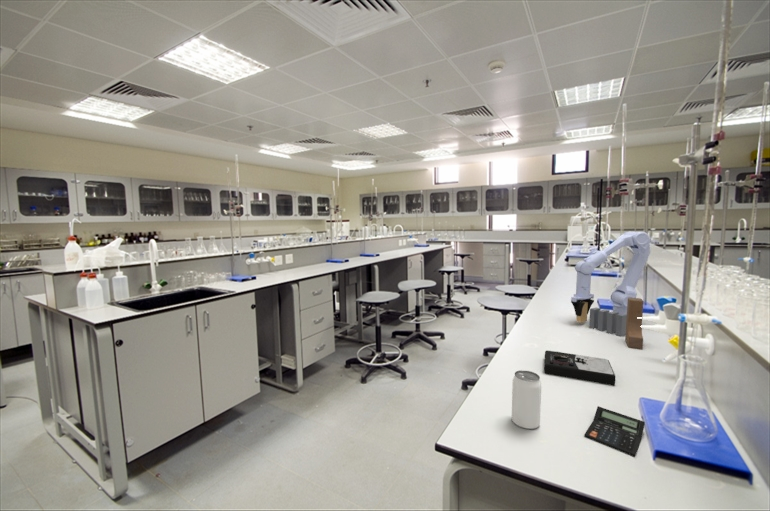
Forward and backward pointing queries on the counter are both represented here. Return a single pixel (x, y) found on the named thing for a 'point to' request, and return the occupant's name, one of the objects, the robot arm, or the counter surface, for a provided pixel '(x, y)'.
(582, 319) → the ochre domino
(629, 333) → the wooden block
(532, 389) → the can
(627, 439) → the calculator
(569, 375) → the multimeter
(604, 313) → the slate domino
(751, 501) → the counter surface
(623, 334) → the slate domino
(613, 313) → the slate domino
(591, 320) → the slate domino
